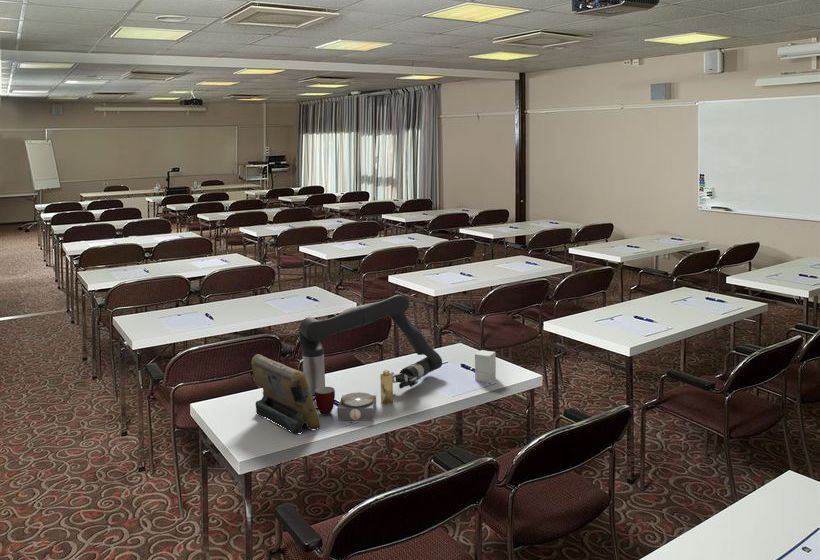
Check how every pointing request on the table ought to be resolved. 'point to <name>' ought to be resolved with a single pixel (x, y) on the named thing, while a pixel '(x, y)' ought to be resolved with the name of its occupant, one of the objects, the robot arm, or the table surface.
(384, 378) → the calibration weight
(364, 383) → the table surface
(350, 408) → the scale housing
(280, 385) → the tablet
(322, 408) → the mug
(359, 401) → the scale platter
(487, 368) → the supplement box
